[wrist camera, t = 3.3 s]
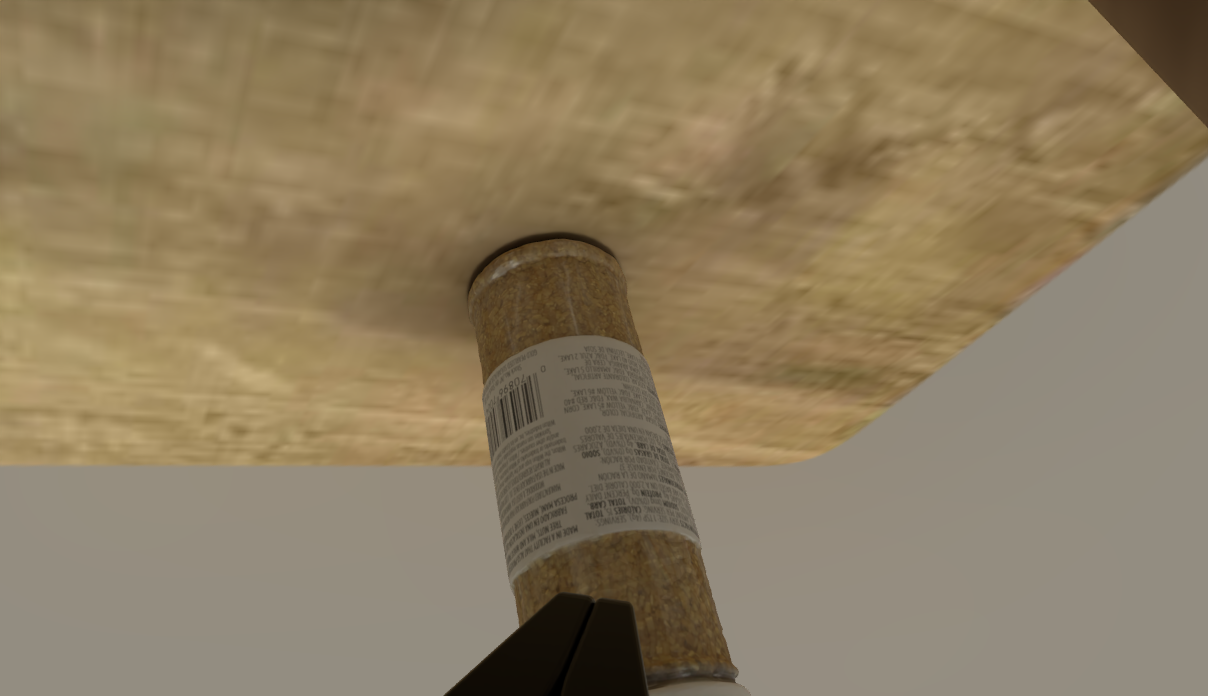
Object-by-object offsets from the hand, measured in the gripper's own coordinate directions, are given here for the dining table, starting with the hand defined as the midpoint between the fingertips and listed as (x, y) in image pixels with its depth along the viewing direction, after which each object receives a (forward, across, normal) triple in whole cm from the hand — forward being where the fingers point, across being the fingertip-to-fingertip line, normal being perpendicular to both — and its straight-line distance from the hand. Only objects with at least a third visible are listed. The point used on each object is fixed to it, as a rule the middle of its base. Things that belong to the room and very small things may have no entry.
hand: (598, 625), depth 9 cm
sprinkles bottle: (+14, +5, +2) cm, 15 cm away
